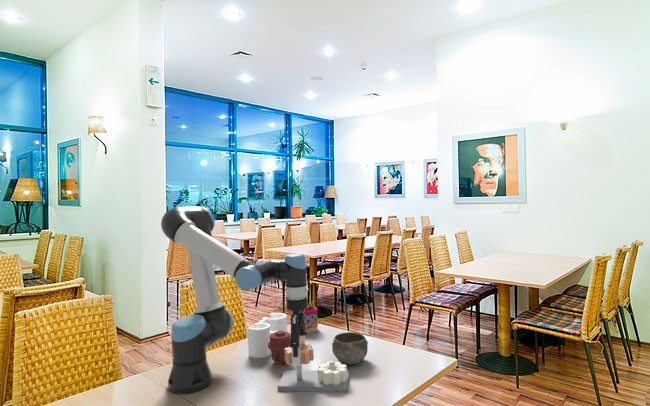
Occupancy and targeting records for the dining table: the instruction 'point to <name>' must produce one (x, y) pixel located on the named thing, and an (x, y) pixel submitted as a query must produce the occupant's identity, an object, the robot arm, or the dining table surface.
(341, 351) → the bowl
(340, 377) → the gear
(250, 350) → the white joined open cylinders
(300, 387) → the gear board
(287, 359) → the gear
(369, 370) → the dining table surface
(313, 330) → the cake
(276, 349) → the mechanical component
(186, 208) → the robot arm
